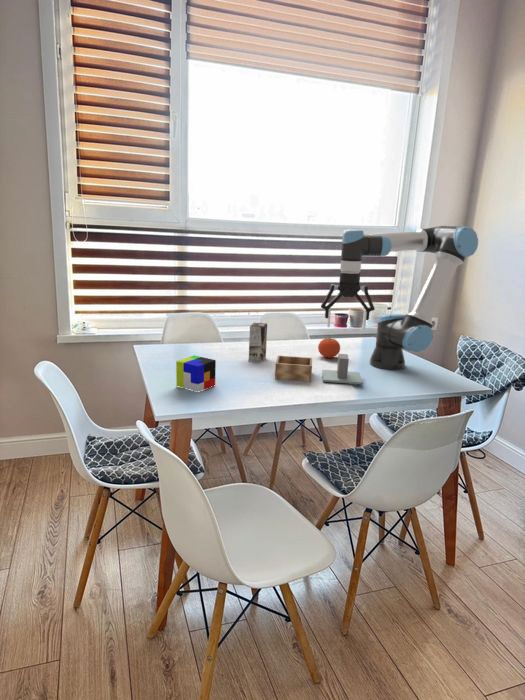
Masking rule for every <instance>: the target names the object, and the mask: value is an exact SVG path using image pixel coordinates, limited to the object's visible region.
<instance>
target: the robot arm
mask: <svg viewBox="0 0 525 700" xmlns="http://www.w3.org/2000/svg"><path fill="white" fill-rule="evenodd" d="M478 245H479V238H478V234H477V232H476V231H475V230H474V229H473V228H472V227H469V226H464V225H460V226H459V225H457V226H456V225H440V226H434V227H429V228H428V227H427V228H419V229H417V230H415V231H405V232H401V231H400V232H385V233H383V232H382V233H368V234H365V233H364V231H363V229H361V230H360V229H346V230H343V234H342V239H341V252H340V253H341V254H340V255H341V257H340V258H341V259H340V267H339V268H340V271H341V272H340V273H339V281H338V282H339V283H338V284H333V283H332V284H330V288H329V291H328V293H327V294H326V296H325V297H324V299H323V301H322V303H321V305H320V308H321V309H323V310H325V311H324V318H325V319H327V328H330V324H331V311H332V310H331V308H332V307H333V306H334V305H335V303H337V302H338V301H339V300H340V298H342V297H344V298H354V297H355V298H356V299H357V300H358V302H359V303H360V304H361V306H362V307H363V308H364V310H363V314H362V316H363V318H362V329H363V330H366V324H367V323H366V322H367V321H369V319H370V312H373V311H375V310H376V308H375V306H374V303H373V301H372V298H371V296H370V294H369V287H368V286H367V285H366V284H365V285H362V286H361V285H360V284H361V283H360V282H361V273H360V272H361V269H362V258H363V257H386V256H387V255H389V254H390V253H391V252H404V251H406V252H407V251H416V252H417V253H432V254H434V255H435V257H436V258H435V262H434V264H433V266H432V268H431V270H430V272H429V274H428V277H427V278H426V280H425V282H424V284H423V286H422V289H421V291H420V292H419V294H418V298H417V299H416V301H415V303H414V305H413V307H412V310H411V311H409V312H407V313H405V314H400V313H393V314H392V313H386V314H385V313H383V314H380V315H379V316H378V321H377V327H376V328H377V329H376V330H377V331H376V341H375V346H374V349H373V352H372V353H371V356H370V358H369V359H370V360H369V364H370V365H371V366H373V367H375V368H379V369H384V370H400V369H402V370H403V369H404V368H405V365H406V360H405V355H404V351H403V350H406V351H408V352H413V353H420V352H423V351H425V350H427V349H428V347H430V345H431V344H432V342H433V340H434V332H433V326H434V324H433V321H432V320H433V317H434V315H435V313H436V311H437V309H438V307H439V305H440V303H441V301H442V299H443V296H444V295H445V292H446V291H447V288H448V286H449V284H450V282H451V280H452V278H453V277H454V275H455V274H454V273H455V272H456V270H457V267H458V266H462V265H463V264H464V262H465V260H466V259H467V258H468V257H471V256H473V255H474V254H475V253H476V252H477V250H478ZM337 289H338V291H339V292H338V293H337V294H336V296H334V297H333V298H332V300H331V301H330V302H329V300H330V299H331V297H332V295H333V293H334V291H336V290H337ZM360 290H361V291H362V292H363V294H364V296H365V297H366V298H365V299H366V300H367V303H368V305H367V304H366V303H365V301H364V300H363V299H362V298H361V296H360V294H359V292H360ZM328 302H329V303H328Z"/></svg>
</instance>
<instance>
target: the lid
mask: <svg viewBox="0 0 525 700" xmlns="http://www.w3.org/2000/svg"><path fill="white" fill-rule="evenodd" d="M337 356H338V359H337V368H336V370H333V369H332V370H329V369H321V371H322V373H321V374H322V383H323V382H325V383H339V384H350V385H351V386H353V387H354V386H355V387H357V386H358V385H363V384H364V382H363V379H362V376H361V372H359V371H348V370H349V360H350V358H349V355H348V354H347V353H338V354H337Z"/></svg>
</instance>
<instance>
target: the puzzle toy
mask: <svg viewBox="0 0 525 700" xmlns="http://www.w3.org/2000/svg"><path fill="white" fill-rule="evenodd" d="M175 362H176V364H175V365H176V375H175V376H176V377H175V378H176V387H177V386H180V387H183V388H187V389H191V390H193V391H197V392H198V391H201V390H204V389H206V388H209V387H211V386H214V385H215V386H216V366H217V365H216V359H213V358H208V357H204V356H200V355H196V354H195V355H191V356H188V357H185V358H182V359H181V358H180V359H179V360H176V361H175ZM215 386H214V387H215ZM211 388H212V387H211ZM209 389H210V388H209ZM204 391H205V390H204Z"/></svg>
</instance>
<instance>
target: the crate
mask: <svg viewBox="0 0 525 700" xmlns="http://www.w3.org/2000/svg"><path fill="white" fill-rule="evenodd" d="M274 370H275V371H274V380H283V381H284V380H285V381H299V382H311V383H312V373H313V372H312V371H313V357H306V356H305V357H304V356H291V355H277V357H276V361H275V369H274Z"/></svg>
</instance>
